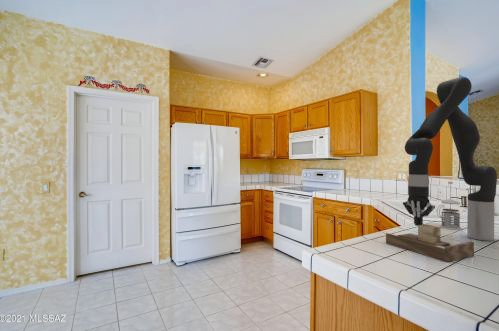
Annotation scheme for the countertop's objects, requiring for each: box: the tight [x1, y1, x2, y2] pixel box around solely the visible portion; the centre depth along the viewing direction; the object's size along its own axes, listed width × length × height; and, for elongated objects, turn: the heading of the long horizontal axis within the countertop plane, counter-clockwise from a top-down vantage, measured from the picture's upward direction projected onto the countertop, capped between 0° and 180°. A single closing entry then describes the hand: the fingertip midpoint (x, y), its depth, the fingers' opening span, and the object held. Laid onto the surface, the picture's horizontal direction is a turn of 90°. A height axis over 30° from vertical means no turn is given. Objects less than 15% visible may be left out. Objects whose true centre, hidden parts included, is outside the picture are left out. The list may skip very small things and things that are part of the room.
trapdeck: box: [385, 232, 475, 263], centre depth 103 cm, size 16×24×5 cm, turn 24°
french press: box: [436, 181, 463, 231], centre depth 138 cm, size 10×12×25 cm
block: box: [417, 223, 442, 243], centre depth 106 cm, size 6×6×6 cm
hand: (418, 225), depth 110 cm, fingers closed
